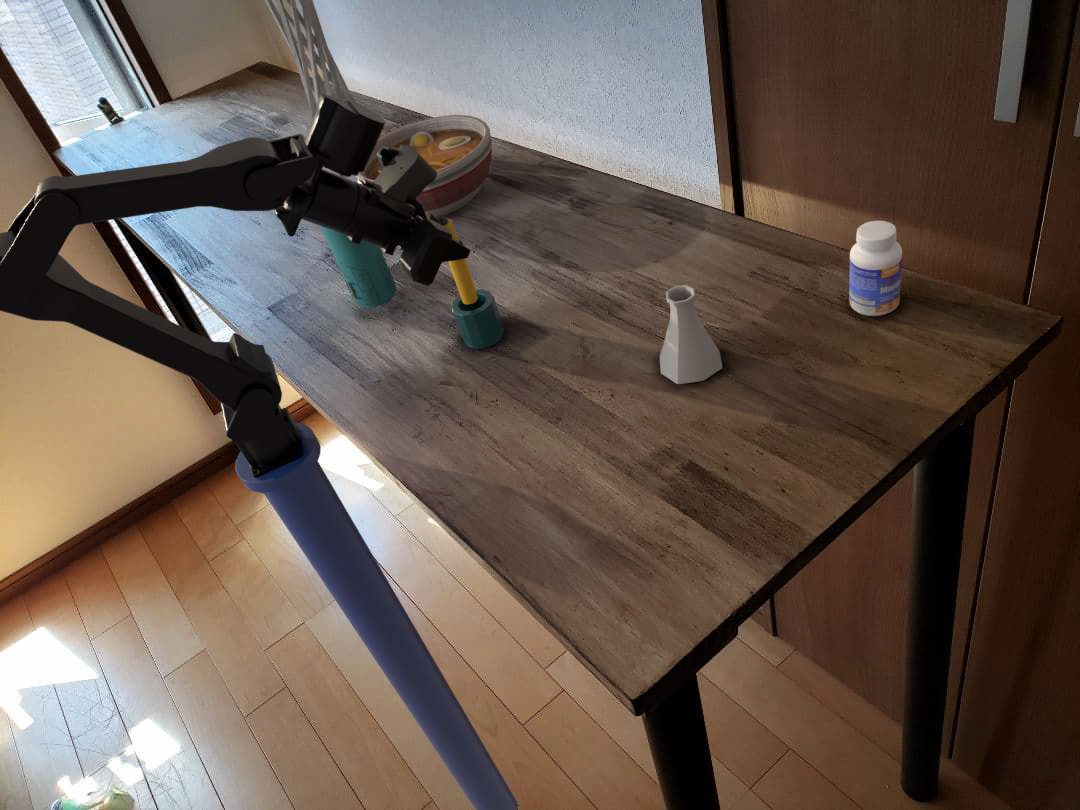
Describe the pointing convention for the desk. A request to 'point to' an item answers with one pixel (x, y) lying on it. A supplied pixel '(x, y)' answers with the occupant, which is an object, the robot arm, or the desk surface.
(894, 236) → the pill bottle
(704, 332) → the flask
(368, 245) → the beverage bottle
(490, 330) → the pen pot
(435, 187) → the bowl
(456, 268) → the pencil
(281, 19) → the vase
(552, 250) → the desk surface
